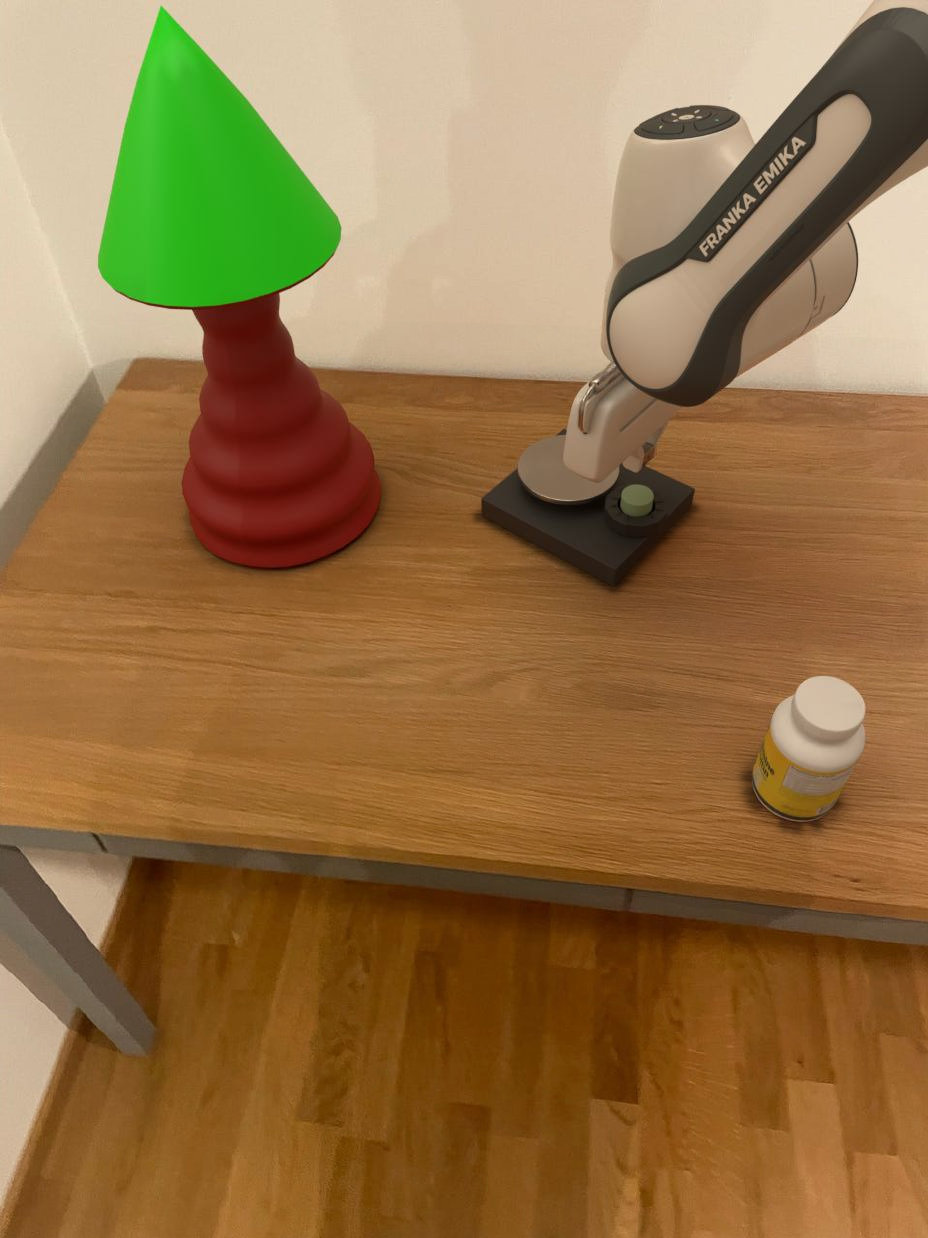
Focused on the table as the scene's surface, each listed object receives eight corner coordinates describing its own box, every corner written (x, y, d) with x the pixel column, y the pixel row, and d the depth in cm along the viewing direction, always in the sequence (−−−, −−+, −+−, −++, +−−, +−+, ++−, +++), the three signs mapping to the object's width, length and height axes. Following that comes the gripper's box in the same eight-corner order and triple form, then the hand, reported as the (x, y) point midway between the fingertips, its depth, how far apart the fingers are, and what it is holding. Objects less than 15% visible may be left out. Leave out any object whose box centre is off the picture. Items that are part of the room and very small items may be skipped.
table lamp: (158, 556, 92) (-53, 52, 58) (236, 433, 104) (100, -42, 70) (347, 585, 88) (239, 65, 54) (404, 454, 101) (346, -37, 67)
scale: (695, 508, 93) (701, 477, 90) (617, 589, 86) (621, 559, 83) (563, 445, 100) (564, 415, 97) (481, 516, 94) (480, 486, 91)
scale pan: (638, 464, 92) (639, 459, 91) (580, 519, 87) (580, 515, 87) (557, 426, 96) (557, 422, 96) (497, 477, 91) (496, 472, 91)
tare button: (658, 504, 88) (659, 492, 87) (640, 522, 87) (642, 509, 86) (631, 492, 90) (633, 479, 89) (614, 508, 88) (615, 496, 87)
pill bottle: (773, 739, 75) (807, 649, 66) (850, 782, 72) (895, 694, 63) (734, 795, 72) (764, 709, 63) (812, 842, 69) (855, 758, 60)
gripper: (617, 405, 67) (602, 540, 78) (755, 285, 77) (725, 420, 88) (547, 374, 70) (542, 509, 81) (689, 262, 80) (667, 395, 90)
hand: (638, 462), depth 84 cm, fingers closed
